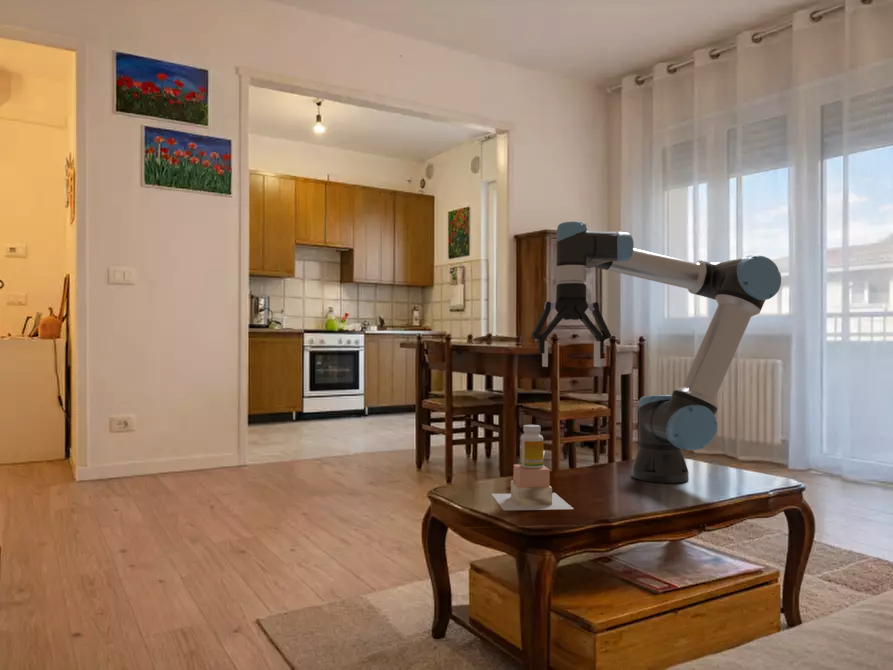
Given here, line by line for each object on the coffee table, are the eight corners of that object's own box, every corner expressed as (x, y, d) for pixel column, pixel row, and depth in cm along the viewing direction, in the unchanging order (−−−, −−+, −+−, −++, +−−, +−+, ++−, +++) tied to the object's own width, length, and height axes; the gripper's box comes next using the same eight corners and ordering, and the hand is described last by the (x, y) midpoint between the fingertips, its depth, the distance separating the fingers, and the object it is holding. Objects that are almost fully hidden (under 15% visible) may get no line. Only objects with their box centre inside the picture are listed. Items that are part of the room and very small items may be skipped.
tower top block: (542, 480, 161) (542, 464, 161) (549, 487, 154) (549, 469, 154) (513, 481, 161) (513, 464, 161) (519, 487, 154) (519, 470, 154)
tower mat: (555, 494, 166) (555, 492, 166) (574, 510, 150) (574, 509, 150) (491, 495, 164) (491, 493, 164) (503, 512, 149) (503, 510, 149)
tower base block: (543, 496, 162) (543, 480, 162) (552, 504, 154) (552, 487, 154) (510, 497, 161) (510, 480, 161) (517, 505, 153) (517, 487, 153)
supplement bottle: (548, 467, 157) (548, 426, 157) (530, 470, 154) (530, 427, 154) (533, 464, 161) (533, 423, 161) (515, 466, 158) (515, 425, 158)
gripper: (613, 285, 176) (613, 365, 176) (520, 283, 173) (519, 365, 173) (623, 282, 169) (623, 367, 168) (526, 281, 166) (526, 367, 166)
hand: (571, 366), depth 171 cm, fingers open, 13 cm apart
